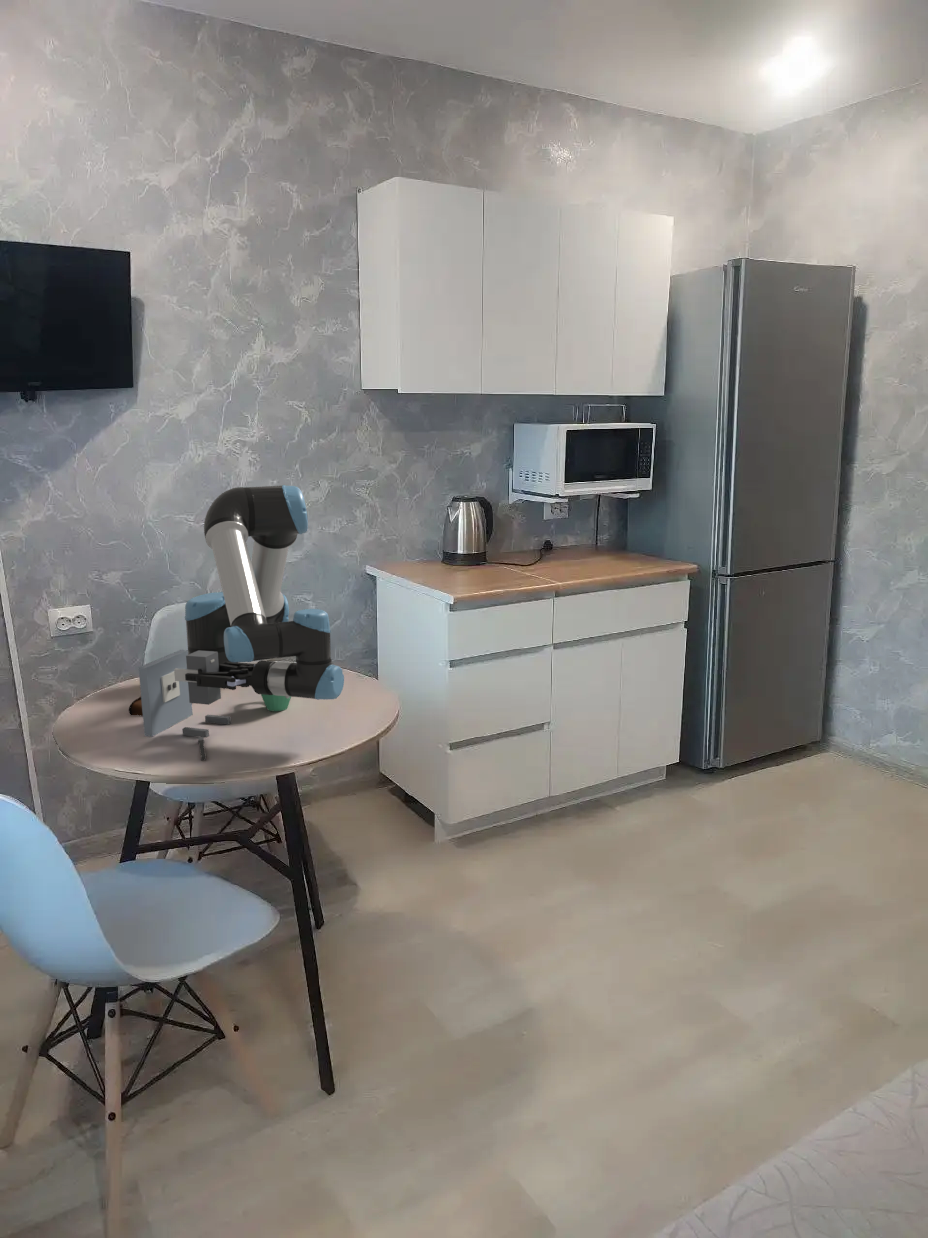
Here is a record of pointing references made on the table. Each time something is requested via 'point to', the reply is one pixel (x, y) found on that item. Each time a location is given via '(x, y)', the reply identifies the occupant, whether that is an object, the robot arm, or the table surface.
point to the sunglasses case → (136, 707)
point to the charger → (207, 664)
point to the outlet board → (168, 697)
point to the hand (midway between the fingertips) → (183, 671)
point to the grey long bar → (202, 748)
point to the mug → (276, 702)
